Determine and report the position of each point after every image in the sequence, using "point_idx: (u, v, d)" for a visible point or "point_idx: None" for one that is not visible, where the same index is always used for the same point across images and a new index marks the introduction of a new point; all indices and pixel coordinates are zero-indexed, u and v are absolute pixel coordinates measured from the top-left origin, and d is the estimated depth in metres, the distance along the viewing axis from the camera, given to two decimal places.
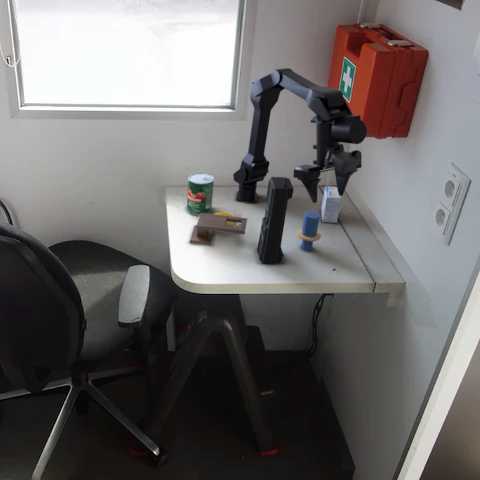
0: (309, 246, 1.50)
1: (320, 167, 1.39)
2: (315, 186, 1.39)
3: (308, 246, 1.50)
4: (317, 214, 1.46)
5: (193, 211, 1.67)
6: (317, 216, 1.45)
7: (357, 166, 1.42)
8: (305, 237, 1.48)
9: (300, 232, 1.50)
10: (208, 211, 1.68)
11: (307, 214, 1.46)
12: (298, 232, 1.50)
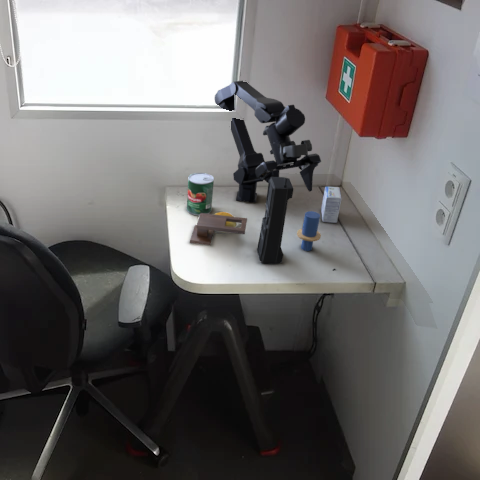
0: (309, 246, 1.50)
1: (279, 164, 1.51)
2: None
3: (308, 246, 1.50)
4: (317, 214, 1.46)
5: (193, 211, 1.67)
6: (317, 216, 1.45)
7: (316, 159, 1.52)
8: (305, 237, 1.48)
9: (300, 232, 1.50)
10: (208, 211, 1.68)
11: (307, 214, 1.46)
12: (298, 232, 1.50)
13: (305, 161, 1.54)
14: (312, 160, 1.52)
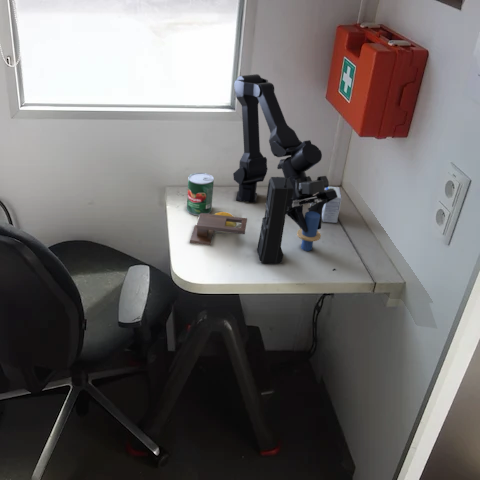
0: (309, 246, 1.50)
1: (294, 200, 1.48)
2: (300, 214, 1.46)
3: (308, 246, 1.50)
4: (317, 214, 1.46)
5: (193, 211, 1.67)
6: (317, 216, 1.45)
7: (332, 195, 1.48)
8: (305, 237, 1.48)
9: (300, 232, 1.50)
10: (208, 211, 1.68)
11: (307, 214, 1.46)
12: (298, 232, 1.50)
13: (321, 196, 1.50)
14: (328, 196, 1.48)
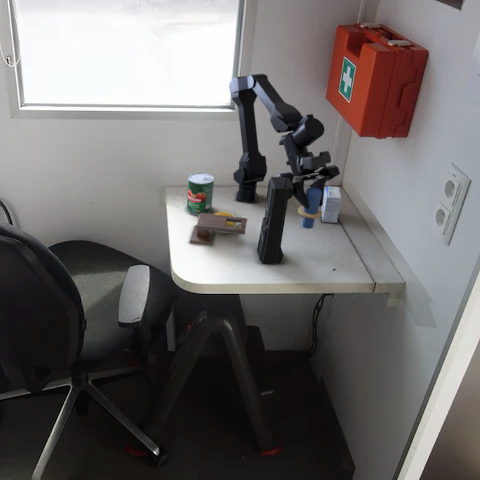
0: (310, 224, 1.47)
1: (295, 176, 1.44)
2: (302, 190, 1.43)
3: (309, 224, 1.47)
4: (319, 190, 1.43)
5: (193, 211, 1.67)
6: (319, 192, 1.42)
7: (334, 171, 1.45)
8: (306, 214, 1.44)
9: (301, 209, 1.47)
10: (208, 211, 1.68)
11: (308, 190, 1.43)
12: (299, 209, 1.47)
13: (323, 173, 1.47)
14: (331, 172, 1.45)
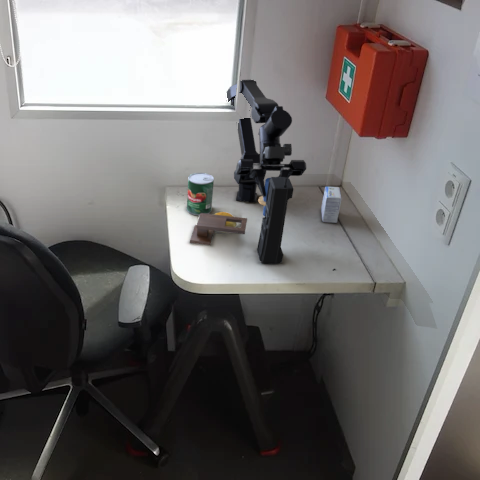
0: None
1: None
2: (260, 178, 1.49)
3: None
4: None
5: (193, 211, 1.67)
6: None
7: (299, 166, 1.48)
8: (263, 202, 1.50)
9: (262, 197, 1.52)
10: (208, 211, 1.68)
11: (268, 179, 1.49)
12: (260, 197, 1.53)
13: (291, 166, 1.51)
14: (295, 166, 1.48)
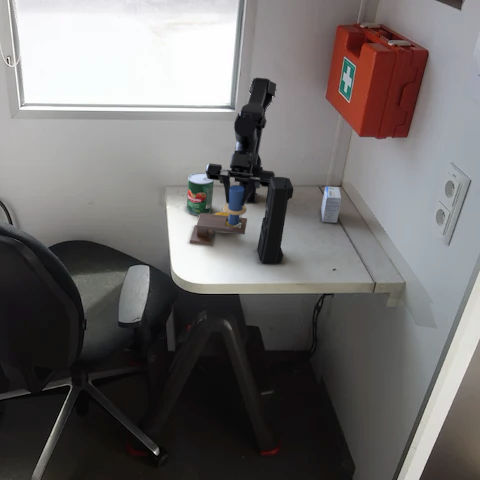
0: (231, 220, 1.50)
1: (229, 171, 1.50)
2: (226, 184, 1.48)
3: (231, 220, 1.50)
4: (241, 189, 1.46)
5: (193, 211, 1.67)
6: (238, 190, 1.45)
7: (266, 177, 1.45)
8: (226, 208, 1.49)
9: None
10: (208, 211, 1.68)
11: (233, 186, 1.47)
12: (227, 204, 1.52)
13: (261, 176, 1.48)
14: (262, 176, 1.45)
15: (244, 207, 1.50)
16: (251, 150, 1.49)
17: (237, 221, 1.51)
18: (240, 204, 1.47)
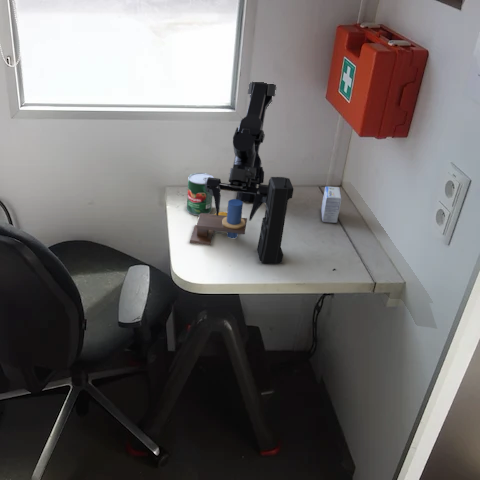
0: (230, 233, 1.52)
1: (228, 184, 1.52)
2: (216, 197, 1.51)
3: (230, 233, 1.53)
4: (240, 203, 1.48)
5: (193, 211, 1.67)
6: (237, 204, 1.47)
7: (264, 191, 1.47)
8: (225, 222, 1.51)
9: None
10: (208, 211, 1.68)
11: (231, 200, 1.49)
12: (226, 217, 1.54)
13: (259, 190, 1.50)
14: (260, 190, 1.47)
15: (243, 220, 1.52)
16: (249, 164, 1.51)
17: (236, 234, 1.53)
18: (239, 218, 1.49)
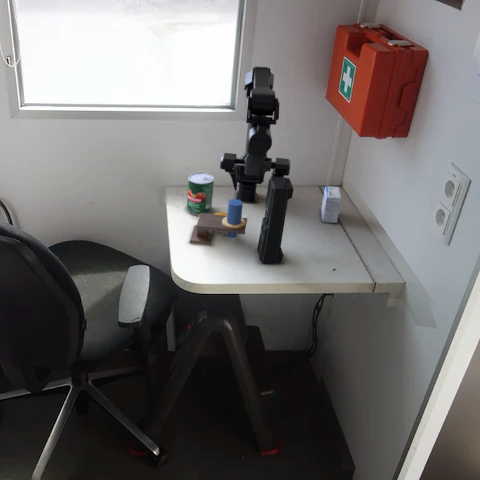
0: (230, 233, 1.52)
1: (244, 161, 1.48)
2: (233, 176, 1.50)
3: (230, 233, 1.53)
4: (240, 203, 1.48)
5: (193, 211, 1.67)
6: (237, 204, 1.47)
7: (281, 173, 1.45)
8: (225, 222, 1.51)
9: None
10: (208, 211, 1.68)
11: (231, 200, 1.49)
12: (226, 217, 1.54)
13: None
14: (277, 172, 1.45)
15: (243, 220, 1.52)
16: None
17: (236, 234, 1.53)
18: (239, 218, 1.49)
